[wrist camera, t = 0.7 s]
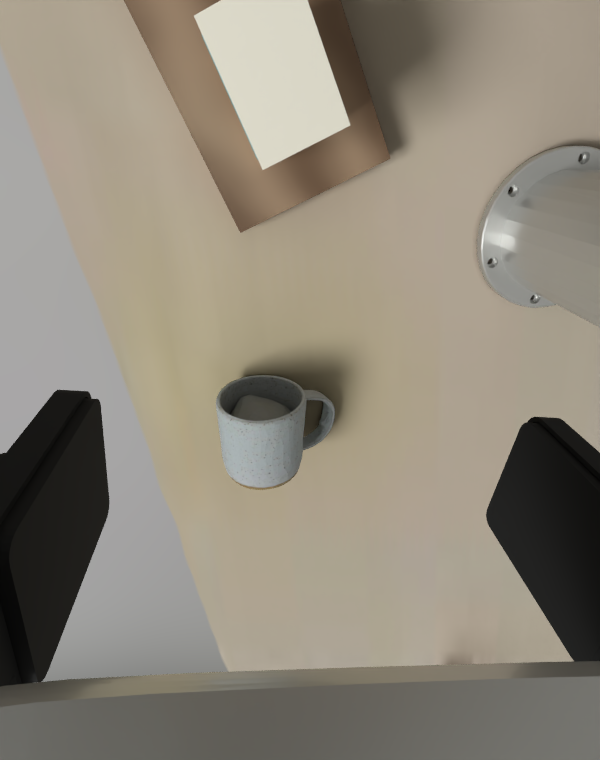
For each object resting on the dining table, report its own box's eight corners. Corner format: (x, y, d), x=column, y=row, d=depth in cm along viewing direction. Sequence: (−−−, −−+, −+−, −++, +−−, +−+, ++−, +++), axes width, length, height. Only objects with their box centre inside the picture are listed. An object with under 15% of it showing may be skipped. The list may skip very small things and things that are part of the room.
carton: (282, 12, 28) (293, -41, 20) (326, 130, 31) (350, 125, 23) (210, 52, 28) (192, 16, 20) (260, 164, 32) (261, 170, 24)
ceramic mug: (226, 448, 45) (222, 502, 38) (218, 375, 41) (212, 421, 34) (331, 441, 46) (345, 493, 39) (333, 369, 42) (349, 412, 35)
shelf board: (227, -328, 23) (220, -427, 19) (383, 157, 34) (400, 159, 30) (30, -196, 24) (-14, -262, 20) (241, 228, 35) (239, 239, 31)
